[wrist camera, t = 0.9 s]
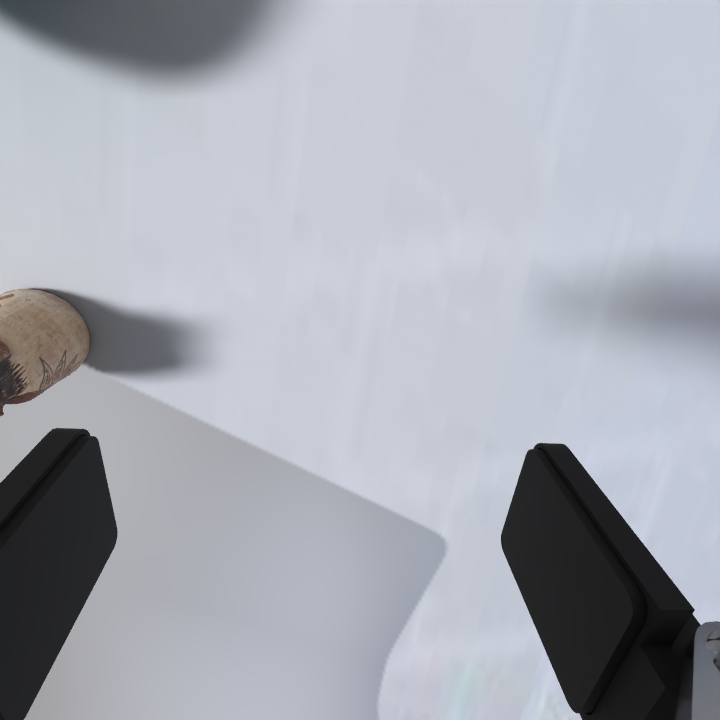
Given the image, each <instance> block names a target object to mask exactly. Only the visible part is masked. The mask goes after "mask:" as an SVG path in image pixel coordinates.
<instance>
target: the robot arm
mask: <svg viewBox="0 0 720 720" xmlns="http://www.w3.org/2000/svg"><path fill="white" fill-rule="evenodd" d="M116 540H117V526H116V521H115V516H114V512H113V507H112V502H111V498H110V493H109V488H108V483H107V479H106V474H105V470H104V465H103V460H102V456H101V451H100V446H99V442H98V439H97V438H96V437H94V436H90V433H89V432H88V431H87V430H85V429H64V428H56V429H52V430H51V431H50V432H49V433H48V434H47V435H46V436H45V437H44V438H43V439H42V440H41V441H40V442H39V443H38V444H37V445H36V446H35V447H34V449H32V451H31V452H30V453H29V454H28V455H27V456H26V457H25V458H24V459H23V460H22V461H21V462H20V463H19V464H18V465H17V466H16V467H15V469H14V470H12V472H11V473H10V474H9V475H8V476H7V477H6V478H5V479H4V480H3V481H2V482H1V483H0V720H24V718H25V717H26V715H27V713H28V711H29V709H30V707H31V705H32V703H33V702H34V699H35V698H36V696H37V694H38V692H39V690H40V688H41V686H42V684H43V682H44V681H45V679H46V676H47V675H48V673H49V671H50V669H51V667H52V665H53V663H54V661H55V660H56V658H57V655H58V654H59V652H60V650H61V648H62V646H63V644H64V642H65V640H66V638H67V637H68V635H69V633H70V630H71V629H72V627H73V625H74V623H75V621H76V619H77V617H78V615H79V614H80V612H81V610H82V608H83V606H84V604H85V602H86V600H87V598H88V597H89V595H90V593H91V591H92V589H93V587H94V585H95V583H96V581H97V579H98V578H99V576H100V574H101V572H102V570H103V568H104V566H105V564H106V562H107V560H108V558H109V557H110V554H111V553H112V551H113V549H114V546H115V544H116ZM501 544H502V549H503V552H504V554H505V556H506V559H507V561H508V564H509V566H510V568H511V571H512V573H513V575H514V578H515V580H516V582H517V585H518V587H519V589H520V592H521V594H522V596H523V599H524V601H525V603H526V606H527V608H528V610H529V613H530V615H531V618H532V620H533V622H534V625H535V627H536V629H537V632H538V634H539V636H540V639H541V641H542V643H543V646H544V648H545V650H546V653H547V655H548V657H549V660H550V662H551V664H552V667H553V669H554V671H555V674H556V676H557V679H558V681H559V683H560V686H561V688H562V690H563V693H564V695H565V697H566V700H567V702H568V704H569V706H570V707H571V709H572V710H573V711H574V712H575V713H580V715H581V718H582V720H720V622H717V621H715V622H706V623H704V624H702V625H700V623H699V622H698V621H697V620H696V618H695V617H694V616H693V614H692V613H693V612H694V608H693V607H692V606H691V605H690V603H689V602H688V601H687V599H686V598H685V597H684V596H683V594H682V593H681V592H680V590H679V589H678V588H677V587H676V585H675V584H674V583H673V581H672V580H671V579H670V578H669V576H668V575H667V574H666V573H665V571H664V570H663V569H662V567H661V566H660V565H659V564H658V562H657V561H656V560H655V558H654V557H653V556H652V555H651V553H650V552H649V551H648V549H647V548H646V547H645V546H644V544H643V543H642V542H641V540H640V539H639V538H638V537H637V535H636V534H635V533H634V531H633V530H632V529H631V528H630V526H629V525H628V524H627V523H626V521H625V520H624V519H623V517H622V516H621V515H620V514H619V512H618V511H617V510H616V508H615V507H614V506H613V505H612V503H611V502H610V501H609V499H608V498H607V497H606V496H605V494H604V493H603V492H602V490H601V489H600V488H599V487H598V485H597V484H596V483H595V481H594V480H593V479H592V478H591V476H590V475H589V474H588V473H587V471H586V470H585V469H584V467H583V466H582V465H581V464H580V462H579V461H578V460H577V458H576V457H575V456H574V455H573V453H572V452H571V451H570V449H569V448H568V447H567V446H566V445H564V444H549V443H539V444H537V445H536V446H535V447H534V449H531V450H529V451H528V452H527V454H526V457H525V460H524V463H523V466H522V470H521V473H520V476H519V479H518V482H517V486H516V489H515V492H514V495H513V498H512V502H511V505H510V508H509V511H508V515H507V518H506V521H505V524H504V527H503V531H502V534H501Z"/></svg>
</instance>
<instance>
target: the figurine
mask: <svg viewBox="0 0 720 720" xmlns="http://www.w3.org/2000/svg"><path fill="white" fill-rule="evenodd" d="M89 347H90V336H89V331H88V328H87V326H86V324H85V321H84V320H83V318H82V317H81V316H80V314H79V313H78V311H77V310H76V309H75V308H74V307H73V306H71V305H70V304H69V303H68V302H67V301H65V300H63V299H62V298H60V297H58V296H56V295H54V294H51V293H47V292H44V291H41V290H31V289H18V290H13V291H9V292H6V293H3V294H1V295H0V416H2V415H3V414H4V413H3V406H4V405H5V404H18V403H23V402H27V401H30V400H32V399H34V398H35V397H37V396H38V395H40V394H41V393H43V392H44V391H45V390H47V389H48V388H50V387H51V386H53V385H54V384H55V383H57V382H58V381H60V380H62V379H64V378H65V377H67V376H68V375H70V374H71V373H72V372H74V371H75V370H76V369H77V368H78V367H79V366H80V365H81V364H82V363H83V362H84V360H85V359H86V357H87V355H88V352H89Z"/></svg>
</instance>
